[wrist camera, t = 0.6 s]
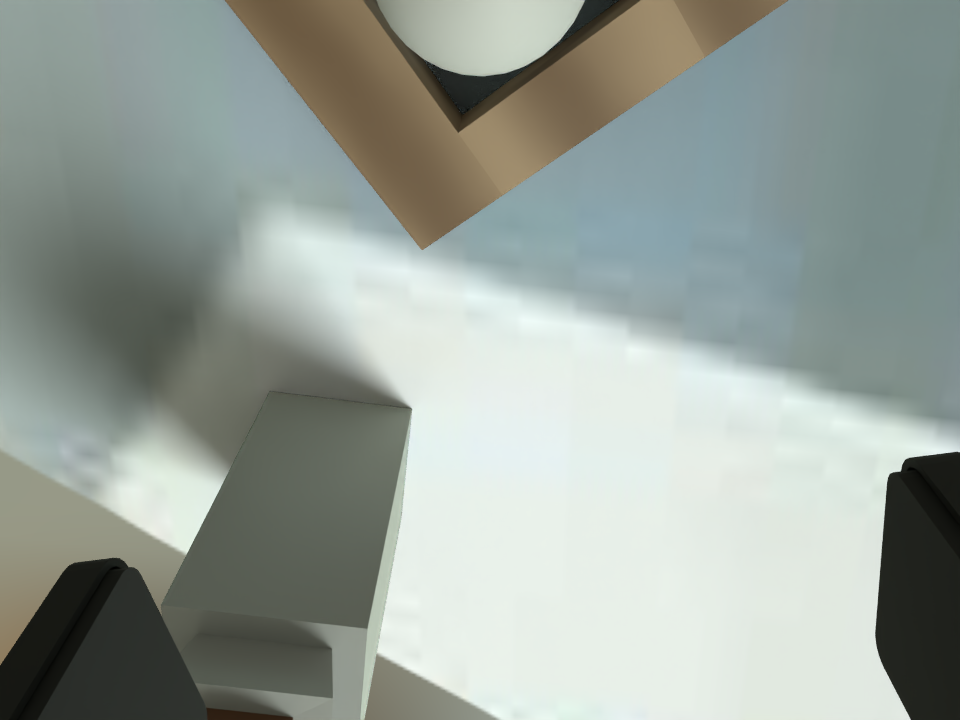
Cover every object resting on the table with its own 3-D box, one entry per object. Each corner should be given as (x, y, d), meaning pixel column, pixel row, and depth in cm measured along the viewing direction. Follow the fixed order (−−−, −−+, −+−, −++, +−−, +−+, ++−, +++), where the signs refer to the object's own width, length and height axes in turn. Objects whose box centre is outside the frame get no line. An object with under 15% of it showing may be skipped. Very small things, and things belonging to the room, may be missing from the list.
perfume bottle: (270, 391, 38) (98, 727, 22) (411, 408, 38) (342, 753, 22) (270, 503, 41) (121, 864, 26) (401, 518, 41) (333, 887, 26)
